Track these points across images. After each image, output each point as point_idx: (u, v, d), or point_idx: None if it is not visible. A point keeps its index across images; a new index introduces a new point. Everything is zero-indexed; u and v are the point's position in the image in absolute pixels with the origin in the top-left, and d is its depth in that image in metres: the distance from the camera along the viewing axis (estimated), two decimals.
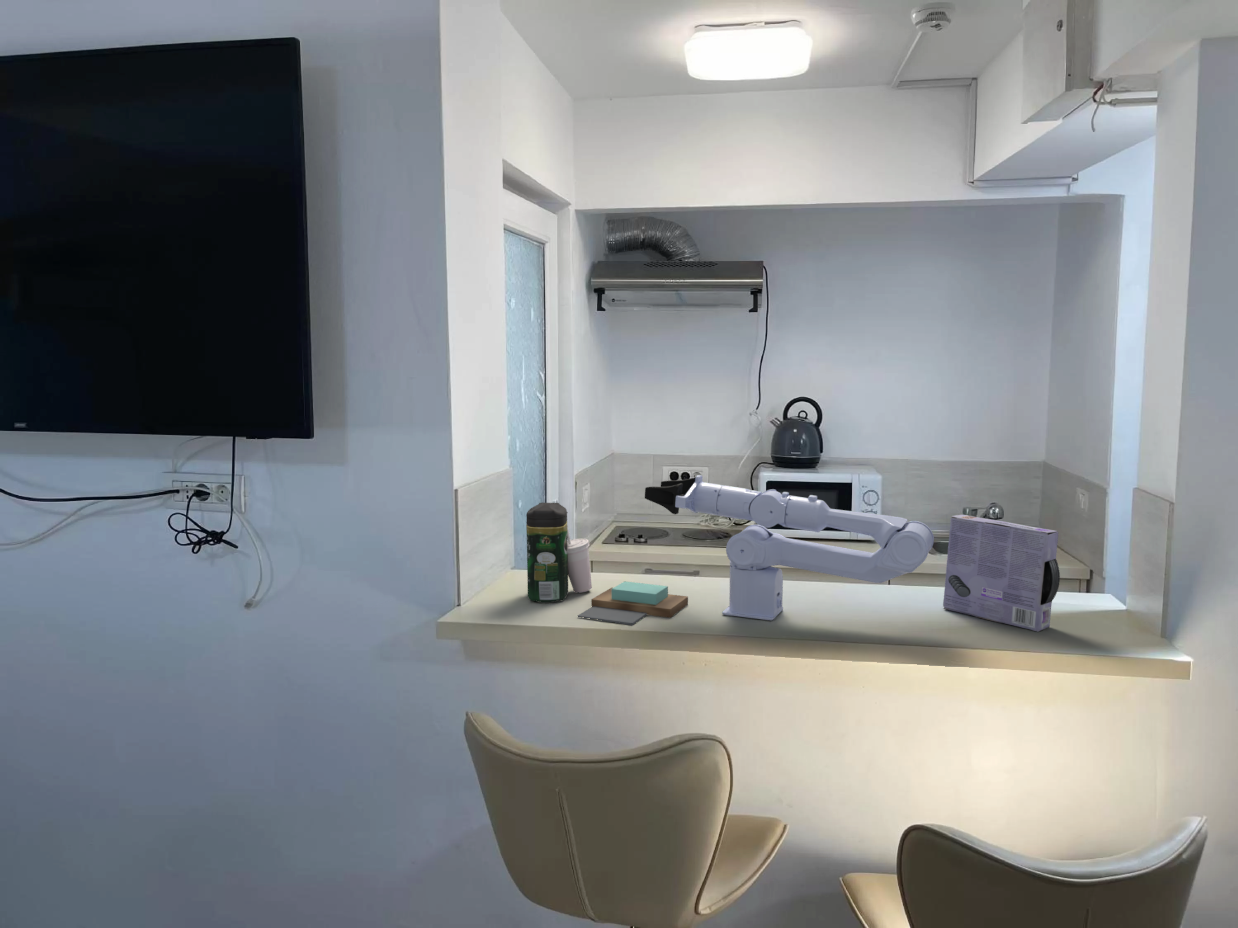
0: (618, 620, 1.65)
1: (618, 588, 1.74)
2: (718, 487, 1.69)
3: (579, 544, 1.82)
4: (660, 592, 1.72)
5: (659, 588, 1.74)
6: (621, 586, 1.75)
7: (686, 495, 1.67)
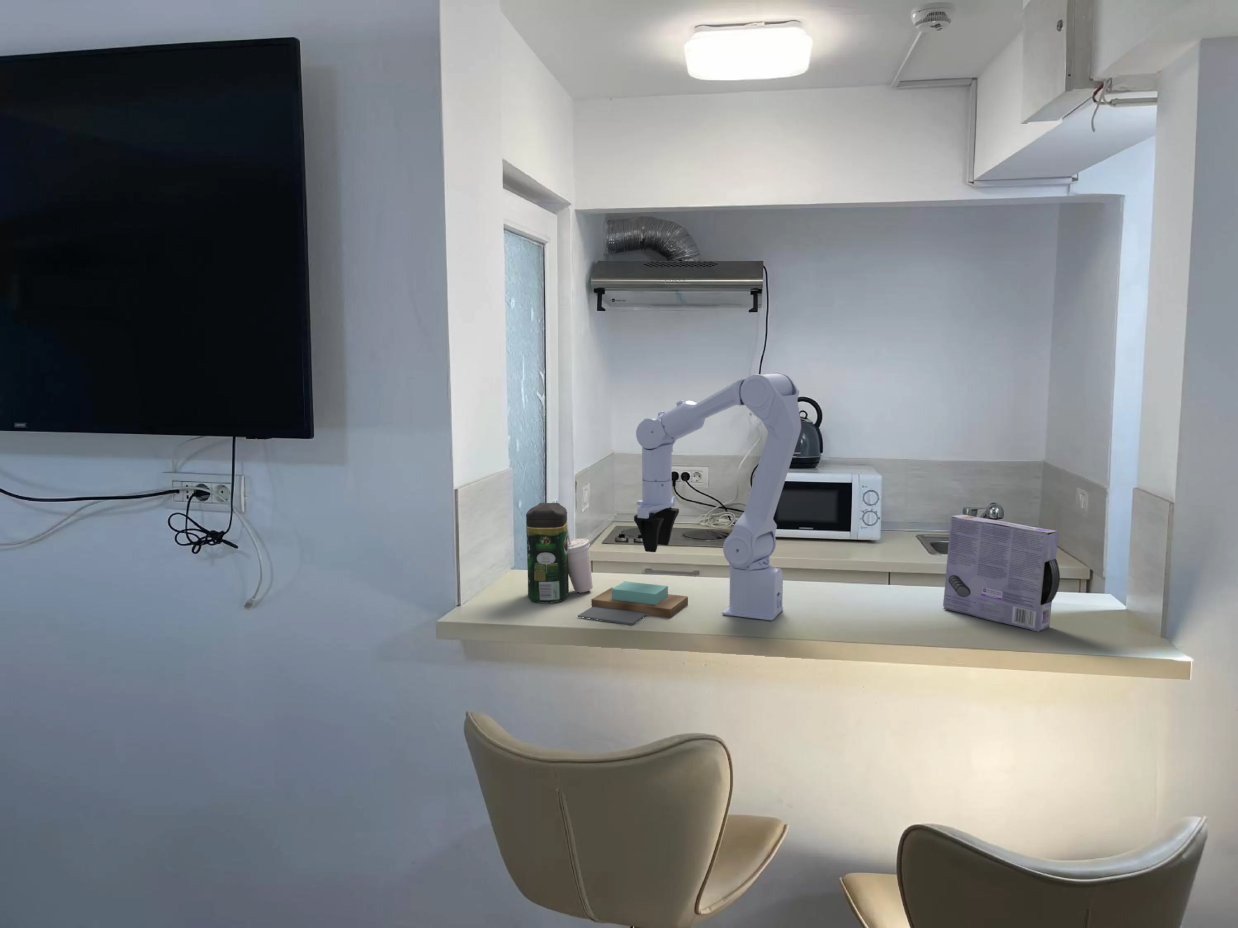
0: (618, 620, 1.65)
1: (618, 588, 1.74)
2: (642, 481, 1.79)
3: (579, 544, 1.82)
4: (660, 592, 1.72)
5: (659, 588, 1.74)
6: (621, 586, 1.75)
7: None
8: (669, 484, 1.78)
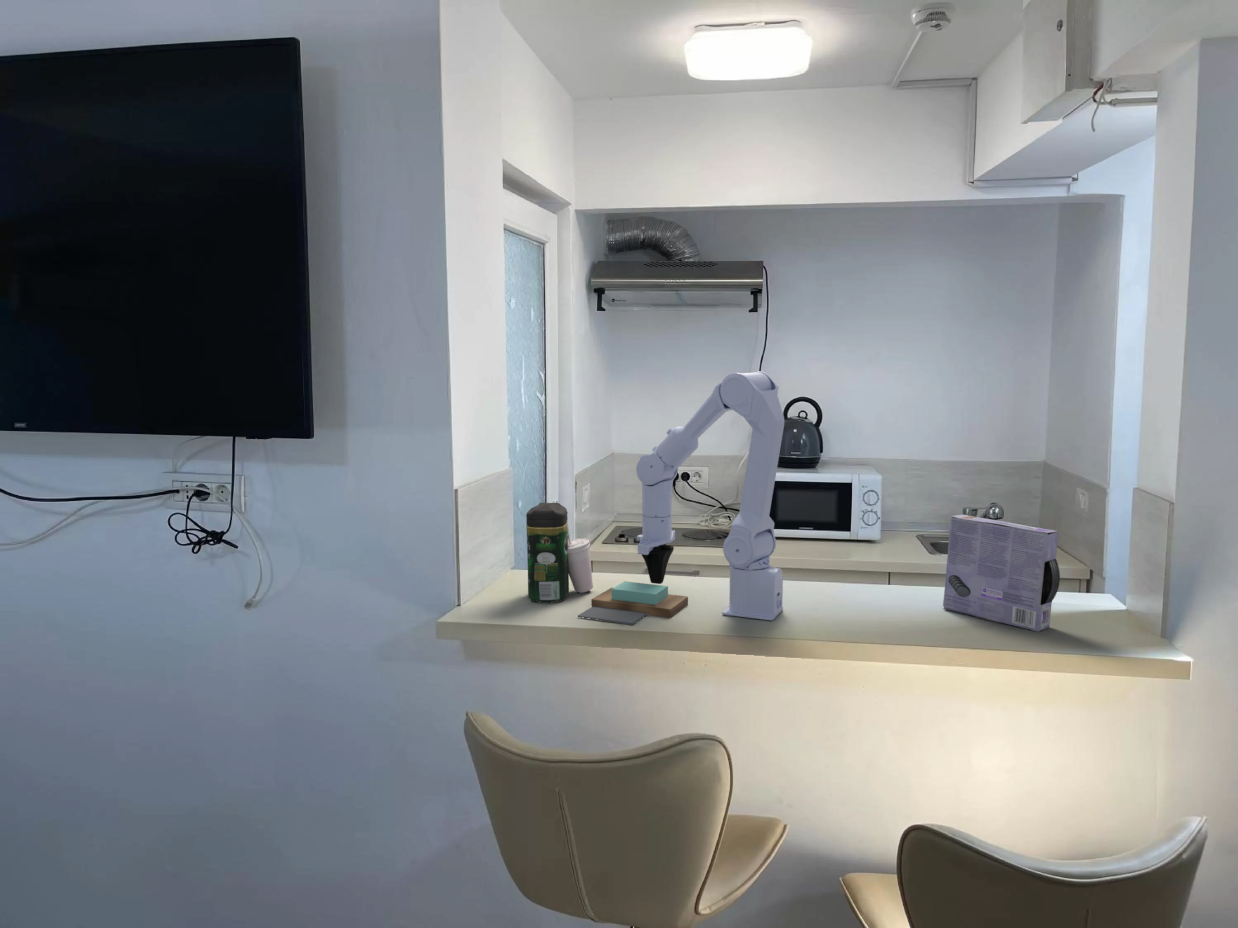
0: (618, 620, 1.65)
1: (618, 588, 1.74)
2: (642, 517, 1.80)
3: (580, 544, 1.82)
4: (660, 592, 1.72)
5: (659, 588, 1.74)
6: (621, 586, 1.75)
7: None
8: (669, 520, 1.79)
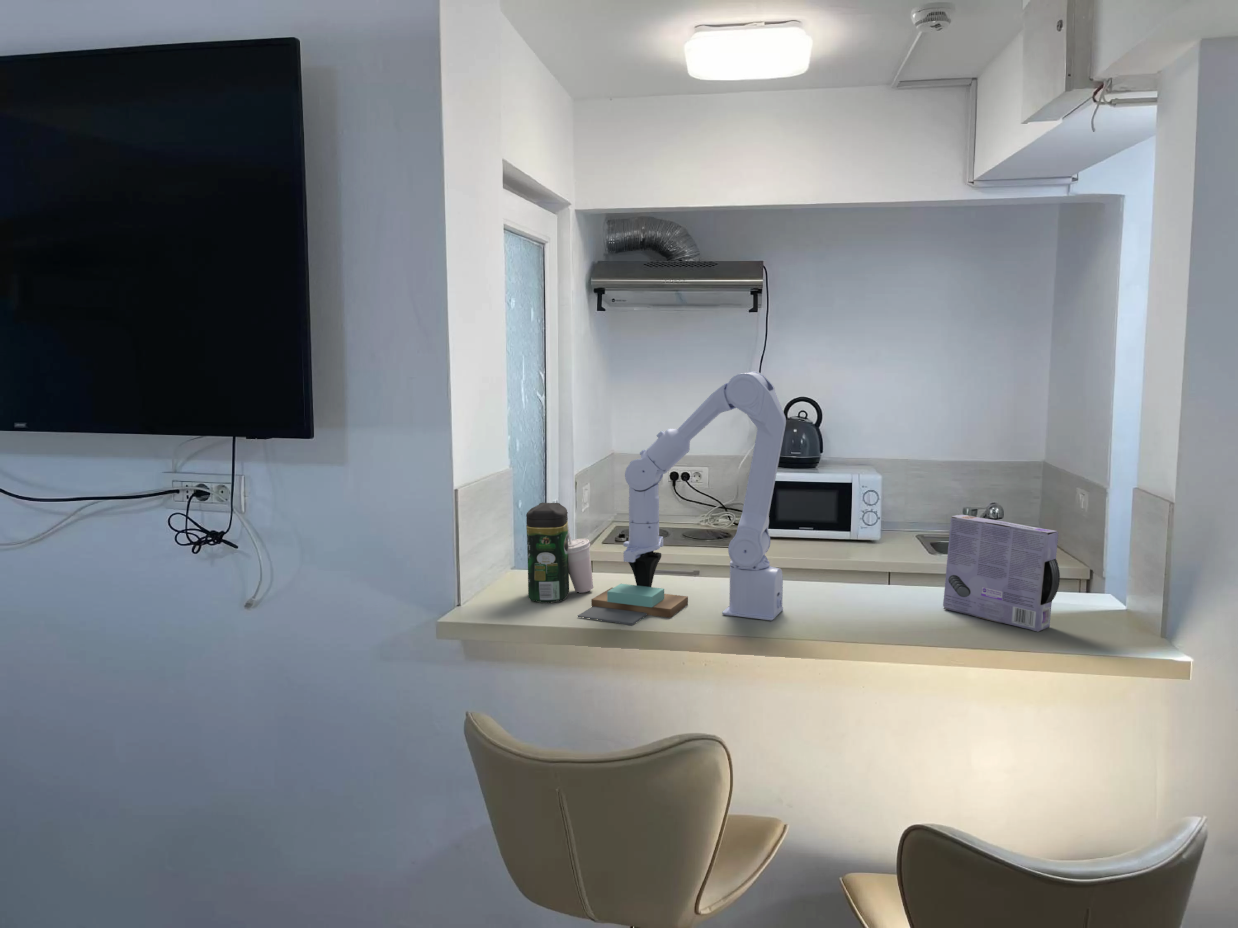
0: (618, 620, 1.65)
1: (614, 591, 1.72)
2: (629, 523, 1.75)
3: (580, 544, 1.82)
4: (656, 595, 1.70)
5: (655, 591, 1.72)
6: (617, 588, 1.74)
7: None
8: (656, 526, 1.73)
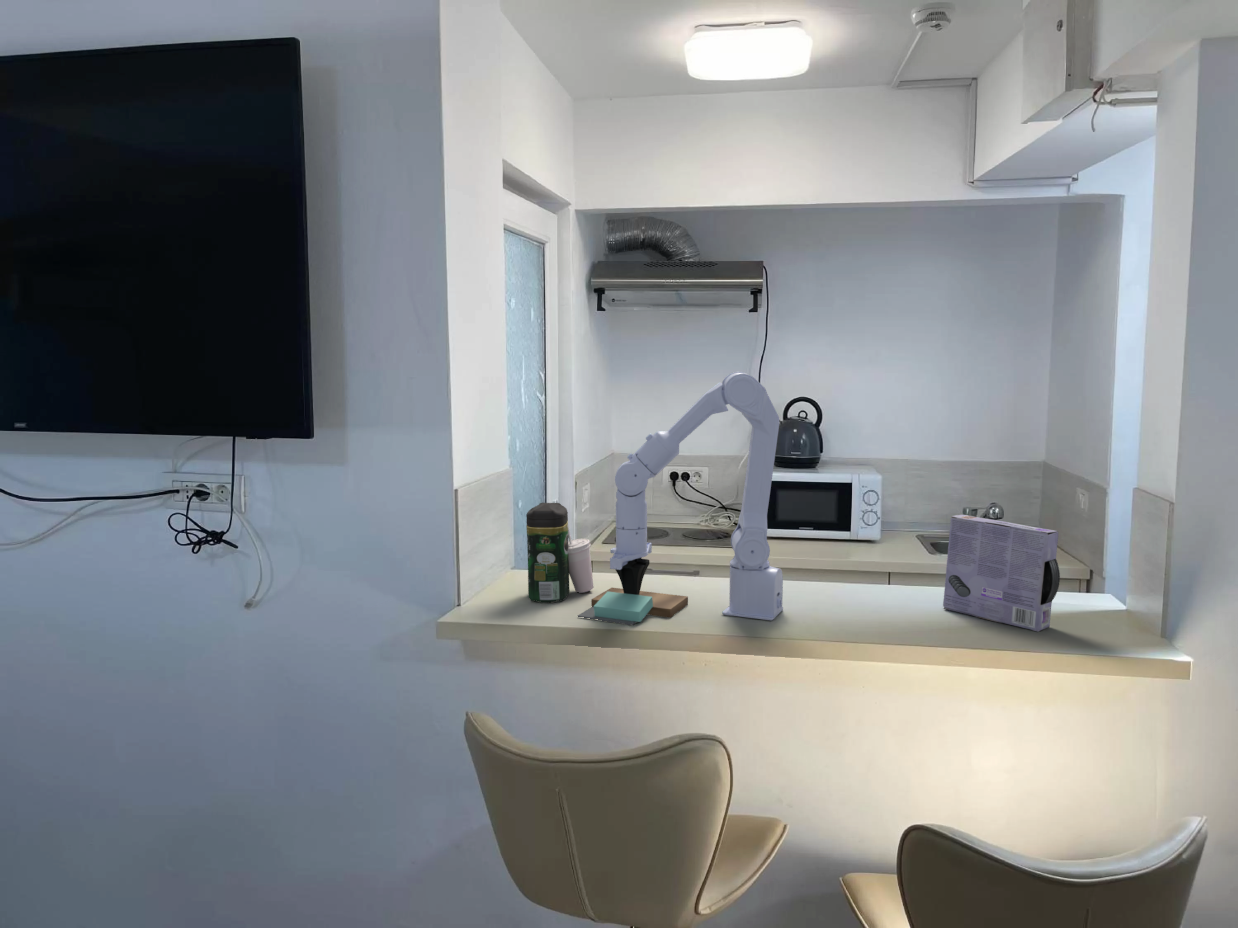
0: (618, 620, 1.65)
1: (600, 605, 1.67)
2: (616, 529, 1.69)
3: (580, 544, 1.82)
4: (644, 607, 1.65)
5: (643, 601, 1.67)
6: (604, 600, 1.68)
7: None
8: (644, 532, 1.68)
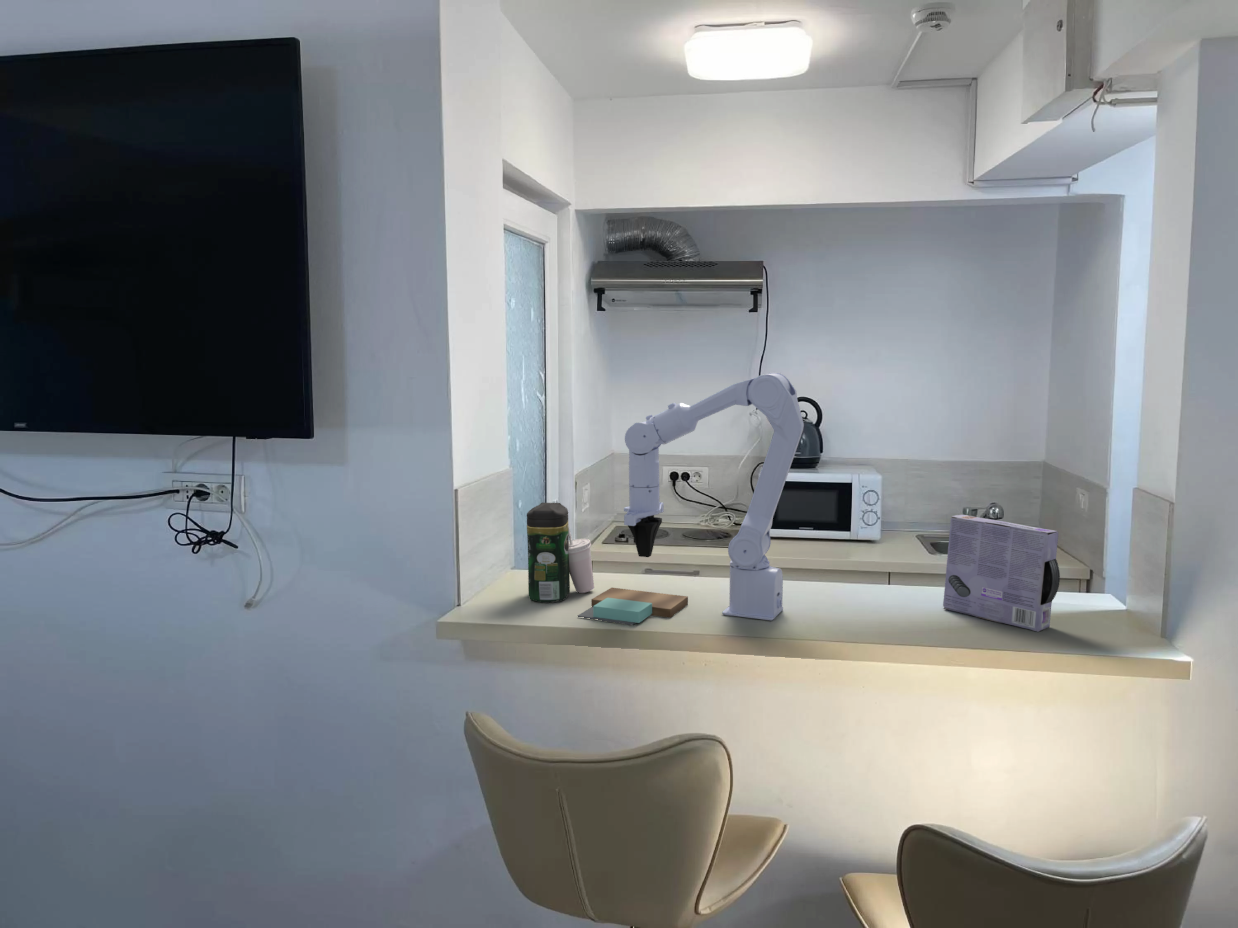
0: (618, 620, 1.65)
1: (600, 606, 1.67)
2: (629, 487, 1.74)
3: (580, 544, 1.82)
4: (644, 609, 1.65)
5: (643, 605, 1.67)
6: (603, 603, 1.68)
7: None
8: (657, 490, 1.72)
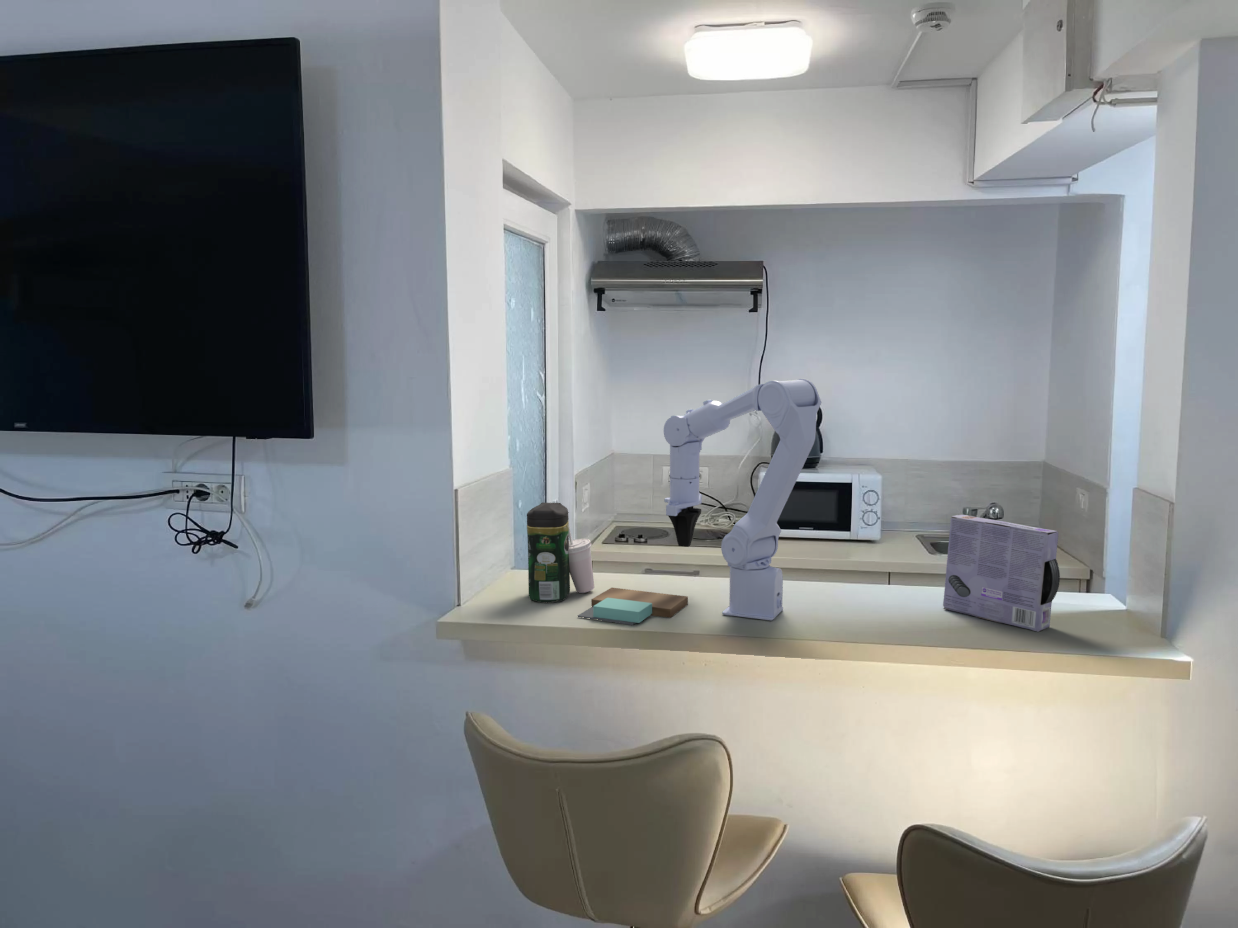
0: (618, 620, 1.65)
1: (600, 606, 1.67)
2: (670, 479, 1.79)
3: (581, 544, 1.82)
4: (644, 609, 1.65)
5: (643, 605, 1.67)
6: (603, 603, 1.68)
7: None
8: (697, 481, 1.78)
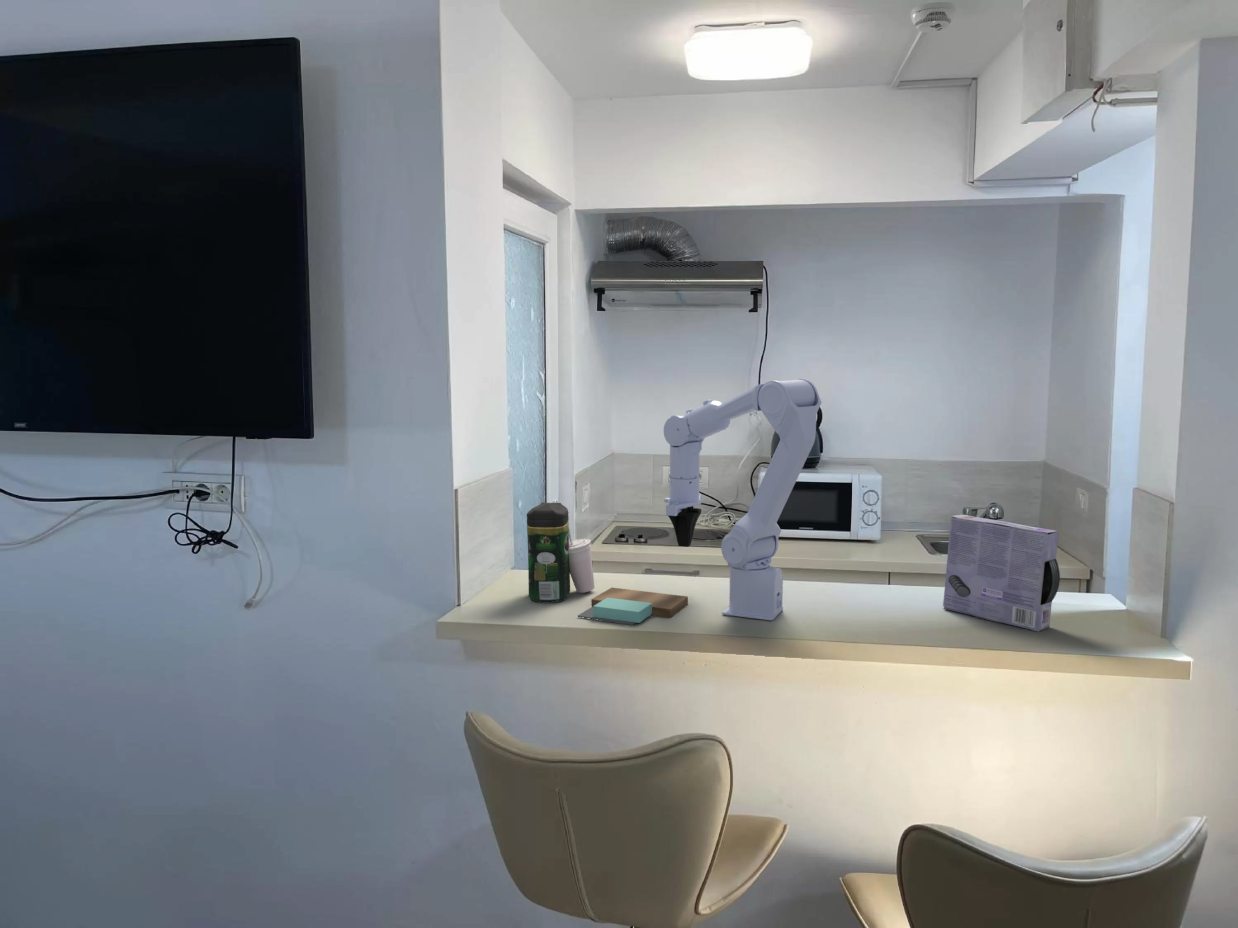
0: (618, 620, 1.65)
1: (600, 606, 1.67)
2: (670, 479, 1.79)
3: (581, 544, 1.82)
4: (644, 609, 1.65)
5: (643, 605, 1.67)
6: (603, 603, 1.68)
7: None
8: (697, 481, 1.78)
